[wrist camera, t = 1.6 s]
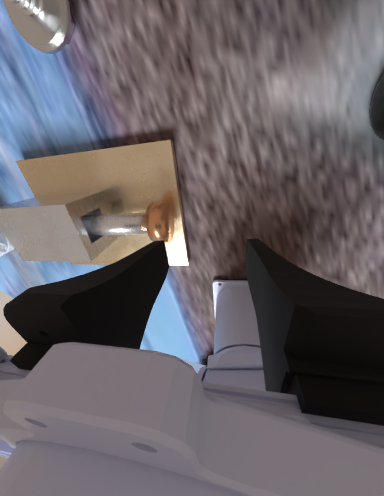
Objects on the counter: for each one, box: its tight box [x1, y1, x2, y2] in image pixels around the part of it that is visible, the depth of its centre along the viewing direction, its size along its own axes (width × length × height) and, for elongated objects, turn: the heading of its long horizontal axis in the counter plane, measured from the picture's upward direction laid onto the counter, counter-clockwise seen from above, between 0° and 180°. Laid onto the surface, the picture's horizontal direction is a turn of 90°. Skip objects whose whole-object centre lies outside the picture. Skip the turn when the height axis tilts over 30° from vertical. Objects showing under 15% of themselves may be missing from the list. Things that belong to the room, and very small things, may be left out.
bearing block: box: [0, 140, 189, 265], centre depth 19 cm, size 18×14×6 cm
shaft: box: [80, 201, 174, 242], centre depth 18 cm, size 11×4×4 cm, turn 96°
